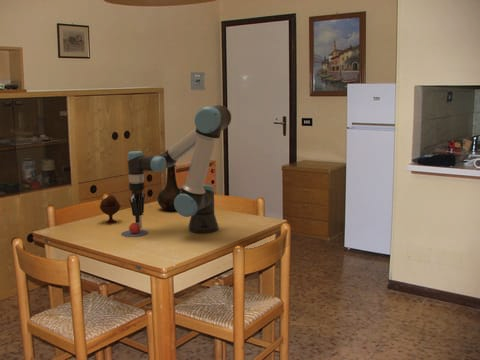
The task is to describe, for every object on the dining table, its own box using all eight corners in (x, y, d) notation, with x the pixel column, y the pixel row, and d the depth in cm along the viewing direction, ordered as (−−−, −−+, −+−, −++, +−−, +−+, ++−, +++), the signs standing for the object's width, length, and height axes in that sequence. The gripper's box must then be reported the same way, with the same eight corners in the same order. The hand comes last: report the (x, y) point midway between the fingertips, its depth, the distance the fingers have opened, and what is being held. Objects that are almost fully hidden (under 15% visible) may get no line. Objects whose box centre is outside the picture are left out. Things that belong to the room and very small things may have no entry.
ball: (141, 224, 281) (137, 235, 280) (142, 225, 286) (138, 235, 285) (130, 220, 280) (126, 231, 279) (131, 221, 286) (127, 231, 285)
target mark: (153, 232, 285) (153, 232, 285) (133, 238, 275) (133, 238, 274) (135, 228, 292) (135, 228, 292) (115, 234, 282) (115, 234, 282)
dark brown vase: (183, 213, 325) (181, 164, 320) (153, 212, 328) (151, 164, 323) (192, 206, 342) (190, 160, 337) (163, 205, 346) (161, 160, 341)
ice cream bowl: (123, 219, 312) (122, 193, 309) (117, 224, 301) (115, 197, 299) (104, 219, 313) (103, 193, 311) (98, 224, 302) (96, 197, 300)
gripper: (135, 179, 291) (138, 224, 295) (123, 184, 278) (126, 231, 282) (149, 180, 288) (151, 225, 292) (137, 184, 276) (139, 231, 280)
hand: (138, 228), depth 287 cm, fingers closed
